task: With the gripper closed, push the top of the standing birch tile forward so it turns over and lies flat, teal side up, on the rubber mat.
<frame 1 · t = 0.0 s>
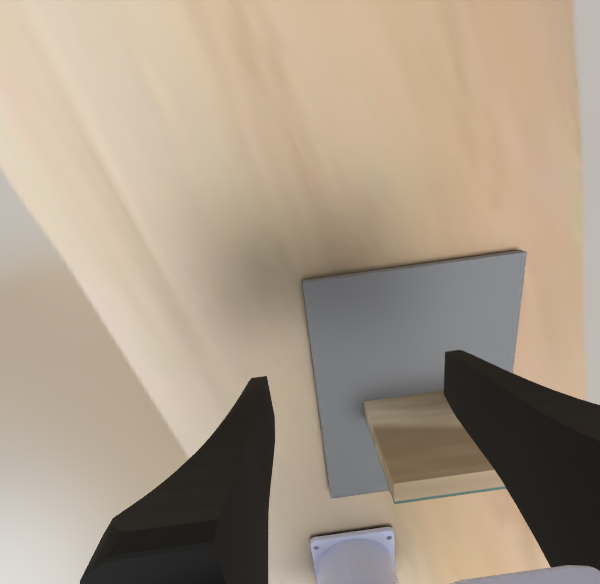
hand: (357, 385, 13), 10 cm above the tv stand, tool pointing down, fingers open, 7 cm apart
tile: (415, 402, 25), point 1 cm above the tv stand, touching mat
mat: (412, 387, 25), on the tv stand
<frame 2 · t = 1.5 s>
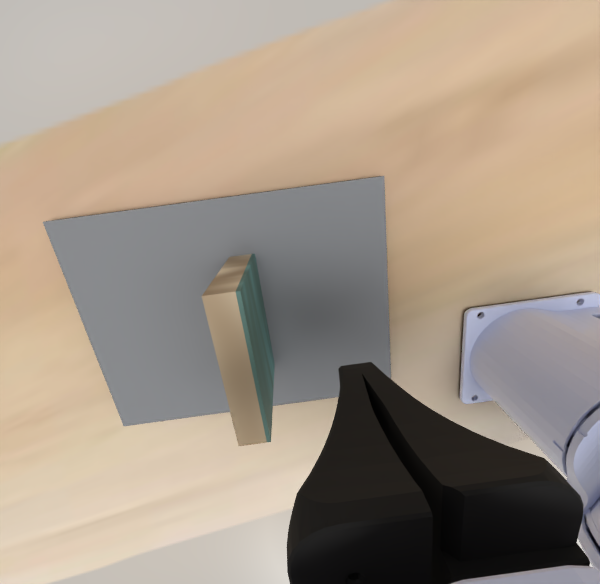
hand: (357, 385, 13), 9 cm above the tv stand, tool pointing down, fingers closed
tile: (253, 314, 21), point 1 cm above the tv stand, touching mat
mat: (239, 312, 21), on the tv stand
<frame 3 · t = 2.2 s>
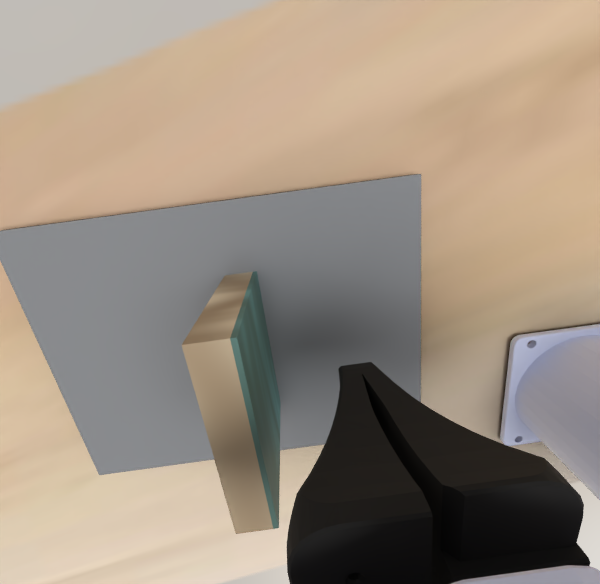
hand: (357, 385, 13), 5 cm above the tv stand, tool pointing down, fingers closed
tile: (254, 344, 17), point 1 cm above the tv stand, touching mat
mat: (238, 341, 18), on the tv stand
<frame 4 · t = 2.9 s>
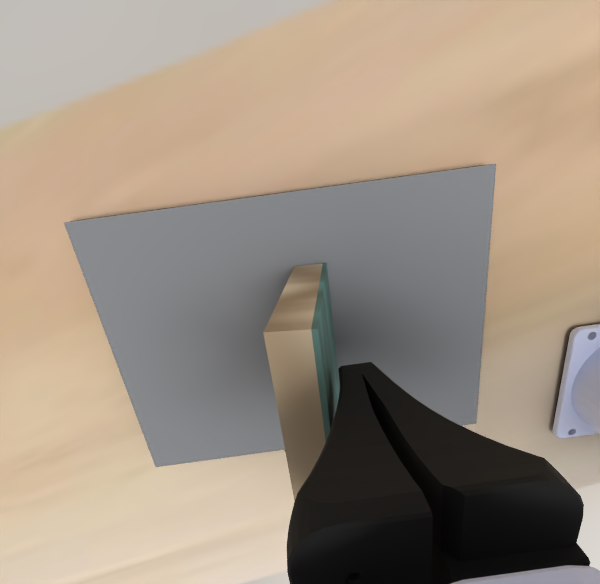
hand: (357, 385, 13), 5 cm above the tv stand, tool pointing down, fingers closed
tile: (319, 336, 17), point 1 cm above the tv stand, tilted 9°, touching gripper, mat
mat: (300, 332, 18), on the tv stand
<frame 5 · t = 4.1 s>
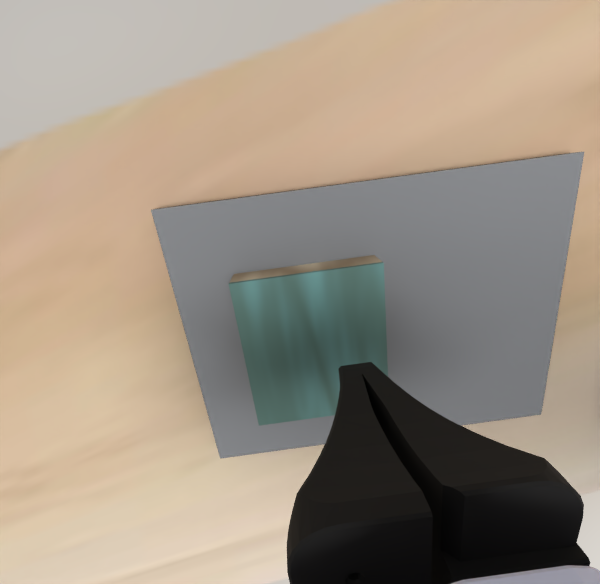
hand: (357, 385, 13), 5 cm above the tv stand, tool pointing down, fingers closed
tile: (381, 334, 16), point 1 cm above the tv stand, tilted 90°, touching mat
mat: (372, 322, 18), on the tv stand
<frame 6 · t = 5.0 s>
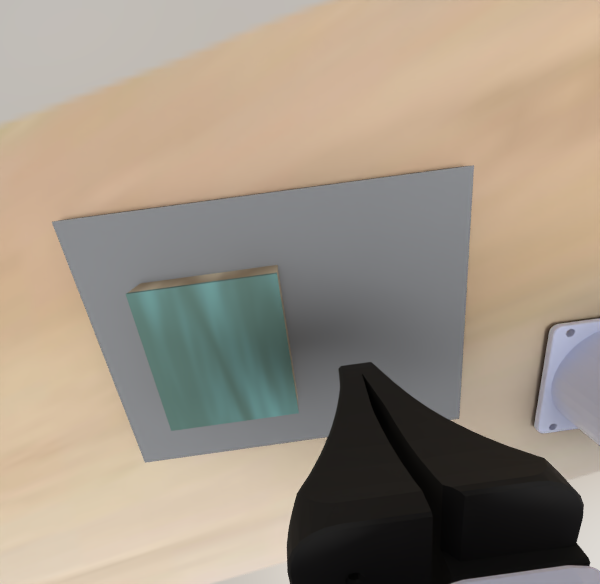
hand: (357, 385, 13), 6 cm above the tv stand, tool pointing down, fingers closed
tile: (288, 341, 17), point 1 cm above the tv stand, tilted 90°, touching mat
mat: (286, 330, 18), on the tv stand
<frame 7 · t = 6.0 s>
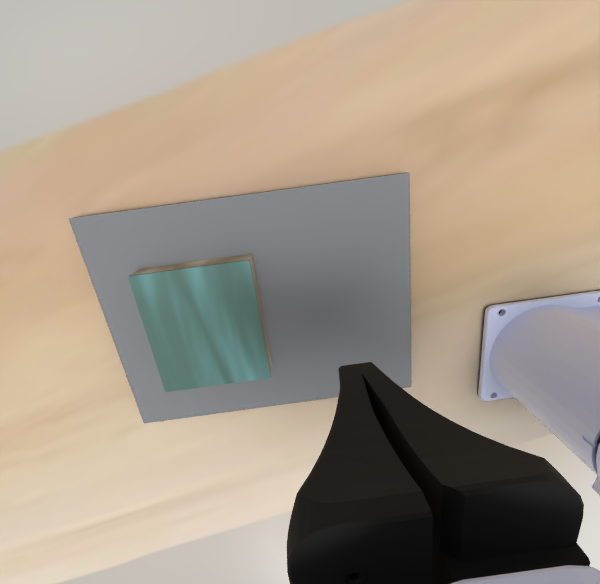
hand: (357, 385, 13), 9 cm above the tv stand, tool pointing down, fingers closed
tile: (261, 317, 20), point 1 cm above the tv stand, tilted 90°, touching mat
mat: (261, 309, 21), on the tv stand
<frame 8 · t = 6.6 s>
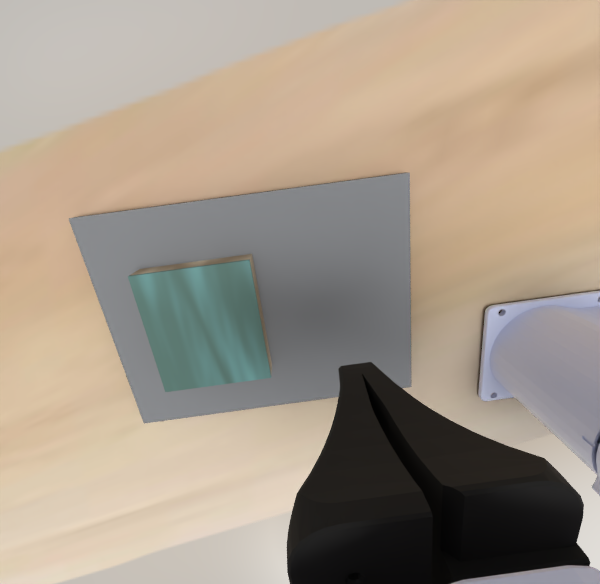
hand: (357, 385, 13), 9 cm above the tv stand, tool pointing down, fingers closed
tile: (261, 317, 20), point 1 cm above the tv stand, tilted 90°, touching mat
mat: (261, 309, 21), on the tv stand
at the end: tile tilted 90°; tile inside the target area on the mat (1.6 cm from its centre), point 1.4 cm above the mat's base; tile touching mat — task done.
